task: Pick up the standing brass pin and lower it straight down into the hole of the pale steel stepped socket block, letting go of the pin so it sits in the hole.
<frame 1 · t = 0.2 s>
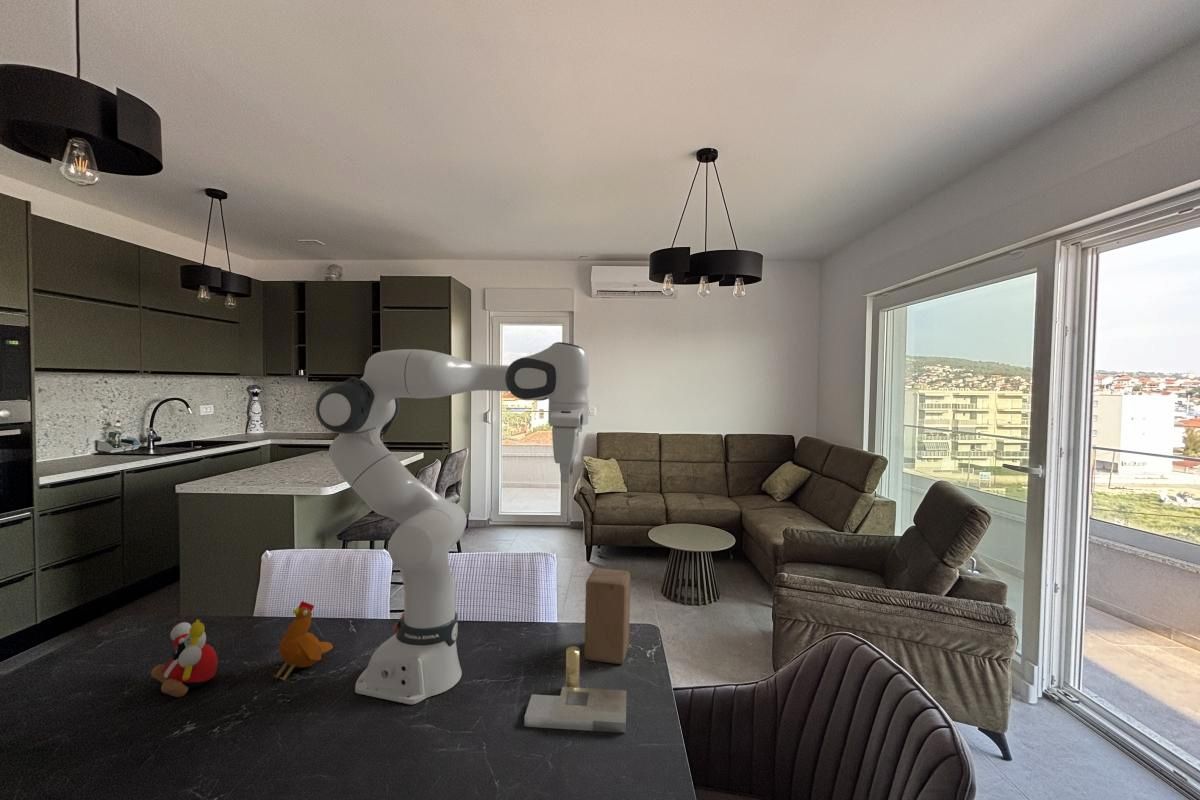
hand: (567, 478, 108), 47 cm above the table, fingers open, 8 cm apart
toy: (305, 667, 115), on the table
wooden block: (607, 653, 123), on the table
pin: (572, 689, 108), on the table
toy 2: (186, 687, 106), on the table
stepped socket block: (576, 717, 99), on the table
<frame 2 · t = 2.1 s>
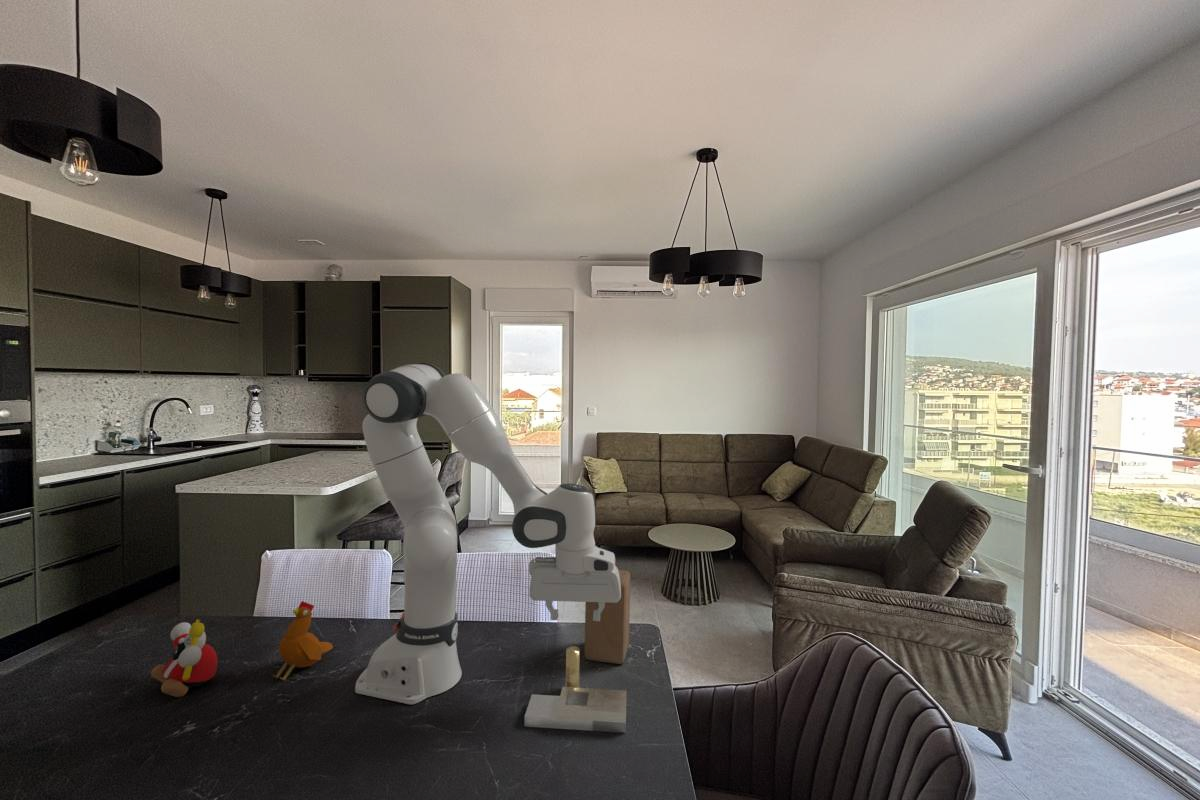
hand: (575, 619, 108), 16 cm above the table, fingers open, 8 cm apart
nothing on the table moved.
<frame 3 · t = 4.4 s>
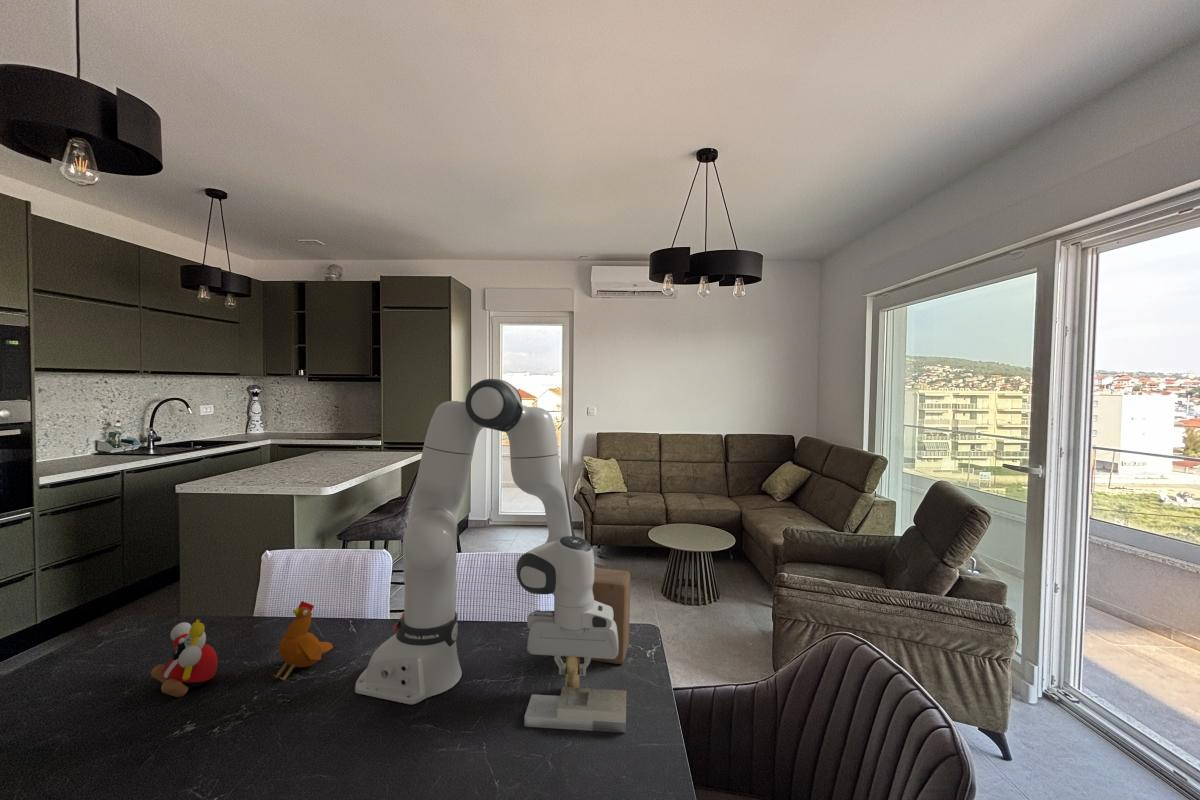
hand: (572, 673, 108), 4 cm above the table, fingers closed on pin, 3 cm apart
pin: (572, 689, 108), on the table, touching gripper
everything else where it was.
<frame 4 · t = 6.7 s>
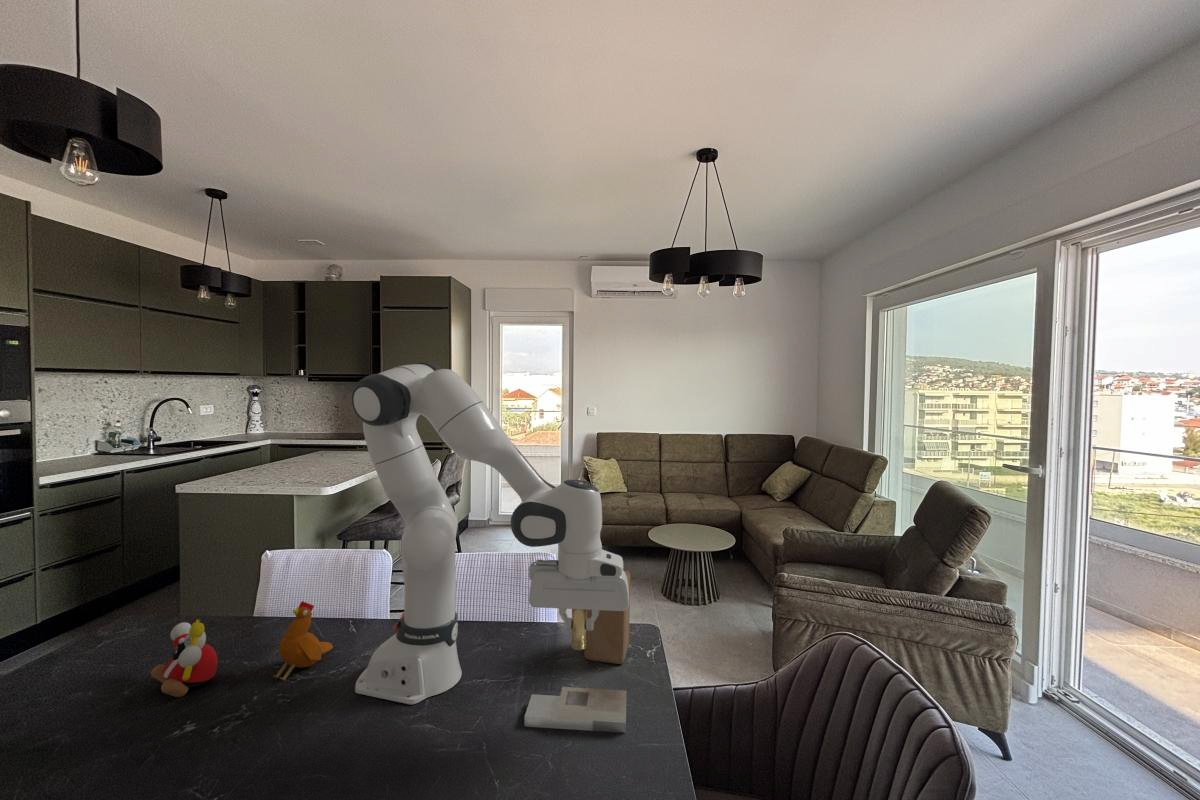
hand: (579, 628, 98), 18 cm above the table, fingers closed on pin, 3 cm apart
pin: (578, 646, 98), point 15 cm above the table, touching gripper
everything else where it was.
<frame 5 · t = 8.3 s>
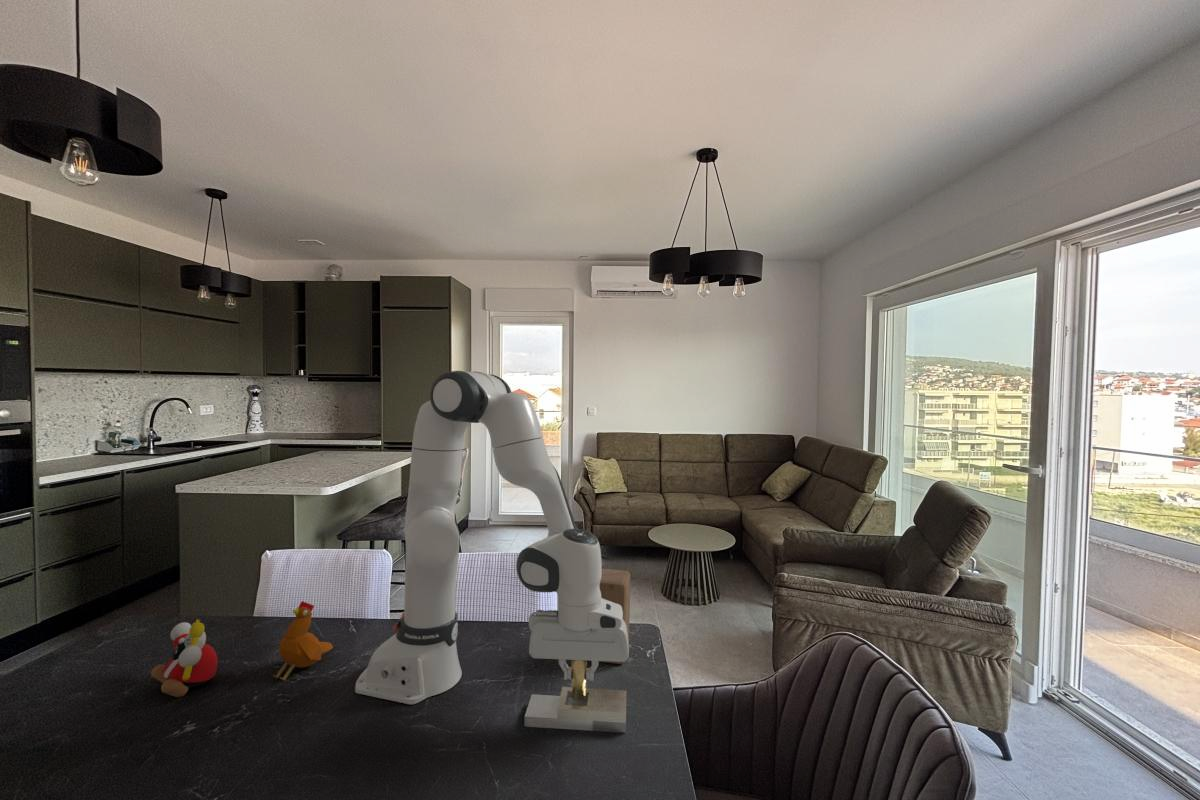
hand: (579, 678, 99), 8 cm above the table, fingers closed on pin, 3 cm apart
pin: (578, 695, 99), point 4 cm above the table, touching gripper
everything else where it was.
when the fingers open (5 cm above the table, at t = 9.5 s): pin drops 2 cm, resting in stepped socket block.
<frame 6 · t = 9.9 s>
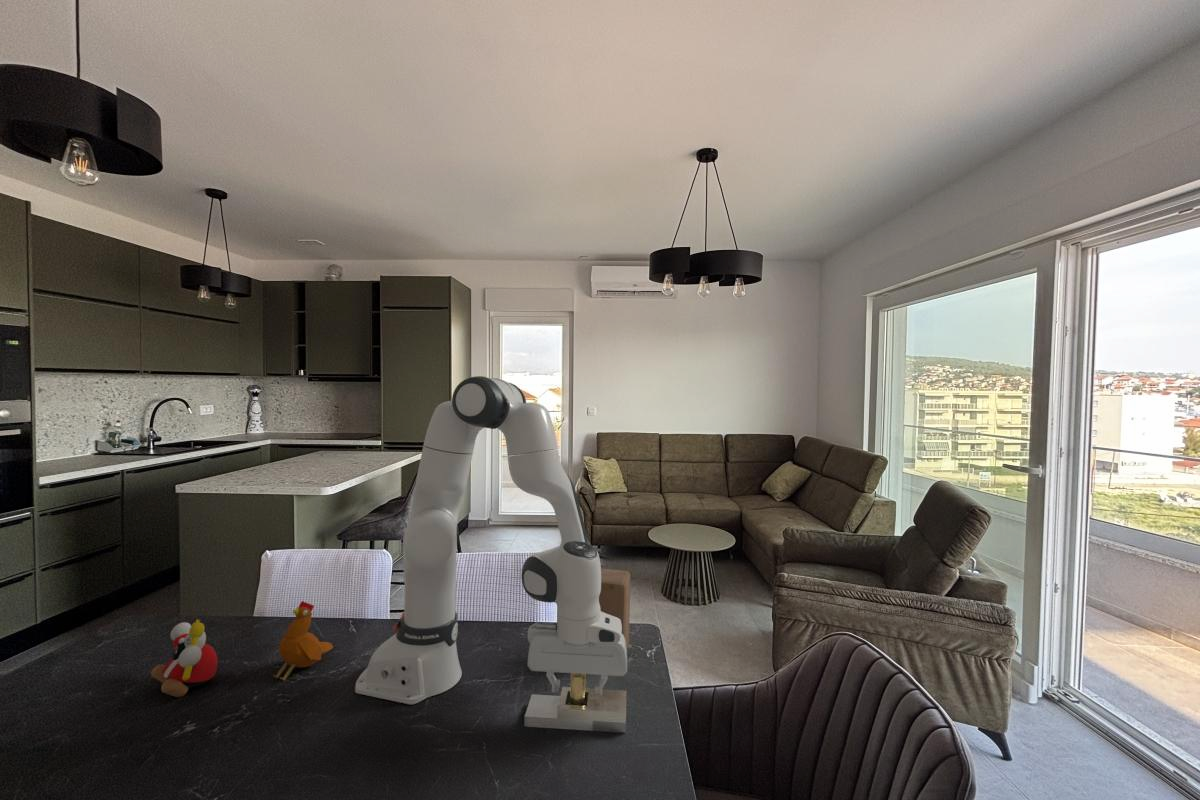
hand: (577, 691, 99), 5 cm above the table, fingers open, 7 cm apart
pin: (576, 717, 99), resting in stepped socket block
everything else where it was.
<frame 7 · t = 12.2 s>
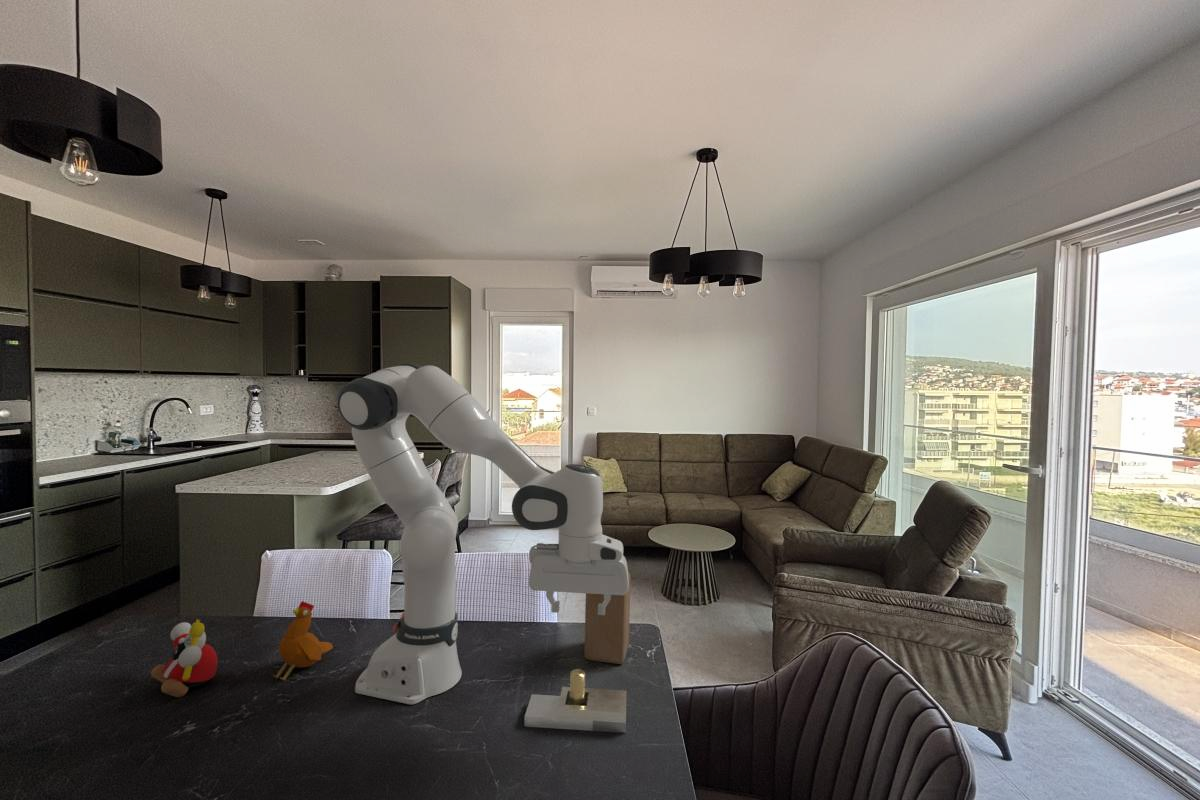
hand: (578, 612, 99), 21 cm above the table, fingers open, 8 cm apart
nothing on the table moved.
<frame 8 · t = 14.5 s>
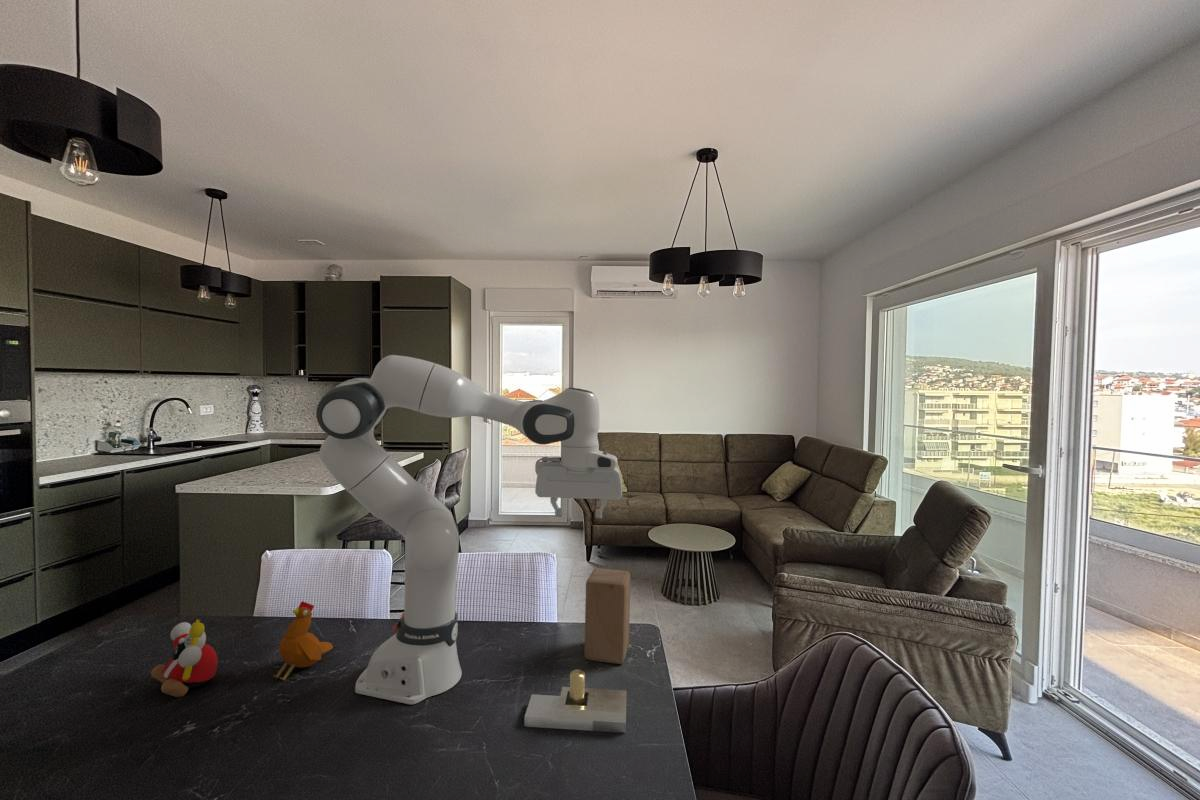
hand: (578, 517, 113), 37 cm above the table, fingers open, 8 cm apart
nothing on the table moved.
at the end: pin 0.2 cm off-centre on the stepped socket block, point 0.0 cm above the stepped socket block's base; pin tilted 1°; the gripper is holding nothing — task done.
